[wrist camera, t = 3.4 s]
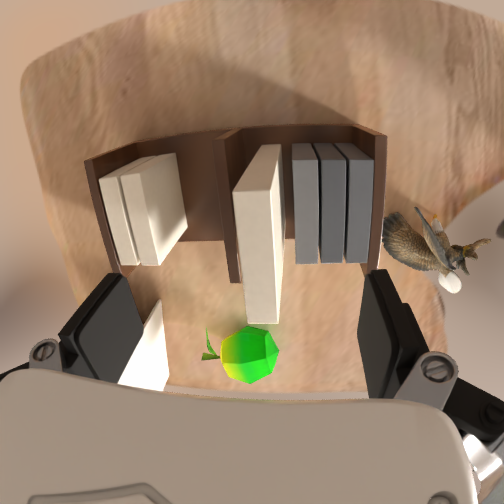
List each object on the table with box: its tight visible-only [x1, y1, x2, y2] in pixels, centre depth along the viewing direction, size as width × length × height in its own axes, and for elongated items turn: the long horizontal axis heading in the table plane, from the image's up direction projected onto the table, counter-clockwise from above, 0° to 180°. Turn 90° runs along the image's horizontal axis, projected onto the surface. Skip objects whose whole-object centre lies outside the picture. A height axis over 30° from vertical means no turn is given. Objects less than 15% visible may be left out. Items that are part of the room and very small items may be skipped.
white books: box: [99, 153, 188, 265], centre depth 24 cm, size 4×7×7 cm, turn 5°
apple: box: [202, 326, 279, 384], centre depth 33 cm, size 7×6×9 cm
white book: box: [232, 144, 286, 324], centre depth 20 cm, size 2×7×13 cm, turn 5°
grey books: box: [292, 143, 374, 264], centre depth 22 cm, size 5×7×7 cm
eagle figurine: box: [382, 207, 491, 293], centre depth 24 cm, size 8×7×9 cm
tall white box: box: [118, 299, 169, 391], centre depth 24 cm, size 14×6×30 cm, turn 174°
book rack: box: [84, 124, 387, 283], centre depth 23 cm, size 20×10×8 cm, turn 95°
